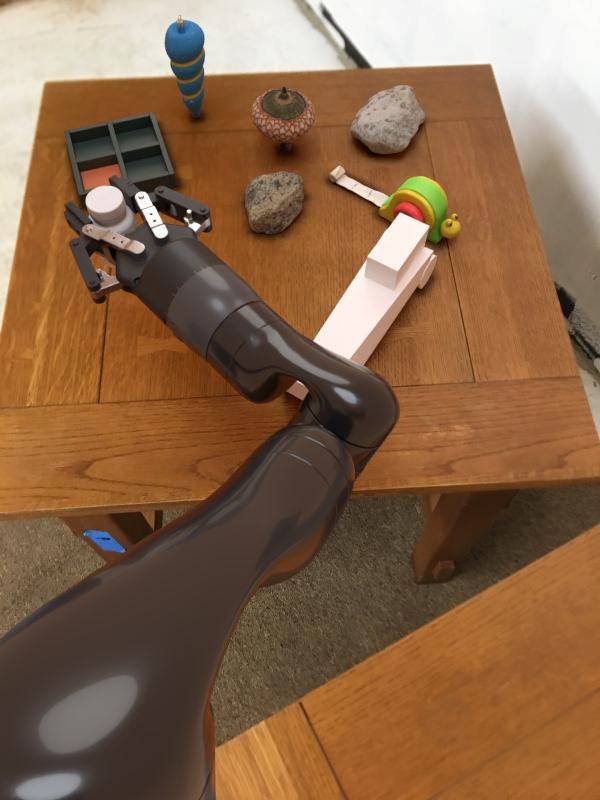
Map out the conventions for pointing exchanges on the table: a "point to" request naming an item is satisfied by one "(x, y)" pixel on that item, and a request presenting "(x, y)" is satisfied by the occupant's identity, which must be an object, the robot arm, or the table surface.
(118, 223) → the pill bottle
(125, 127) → the compartment tray
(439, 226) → the toy measuring tape
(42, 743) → the robot arm
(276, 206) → the rock
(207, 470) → the table surface
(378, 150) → the decorative stone
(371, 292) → the toy truck
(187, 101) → the ornament
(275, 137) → the acorn
